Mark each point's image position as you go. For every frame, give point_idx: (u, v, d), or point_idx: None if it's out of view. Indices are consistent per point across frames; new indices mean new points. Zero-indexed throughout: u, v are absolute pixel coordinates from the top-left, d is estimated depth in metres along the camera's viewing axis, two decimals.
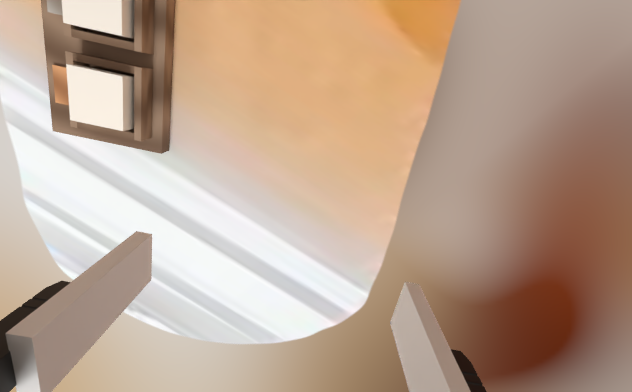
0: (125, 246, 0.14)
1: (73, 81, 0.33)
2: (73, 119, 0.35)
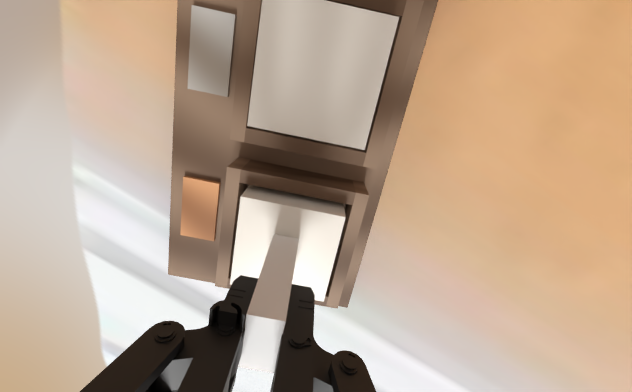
0: (275, 247, 0.16)
1: (248, 224, 0.17)
2: None
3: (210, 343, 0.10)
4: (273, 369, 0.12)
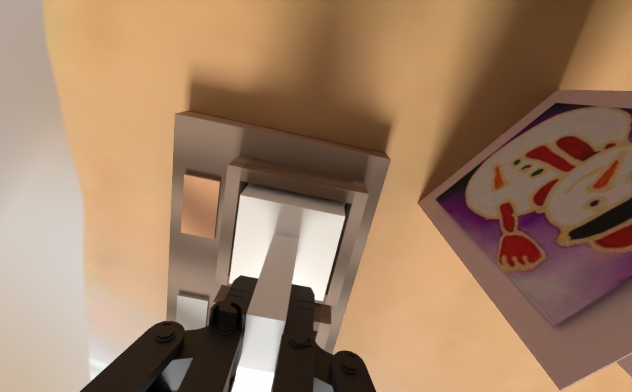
0: (275, 246, 0.16)
1: None
2: None
3: (210, 343, 0.10)
4: (273, 369, 0.12)
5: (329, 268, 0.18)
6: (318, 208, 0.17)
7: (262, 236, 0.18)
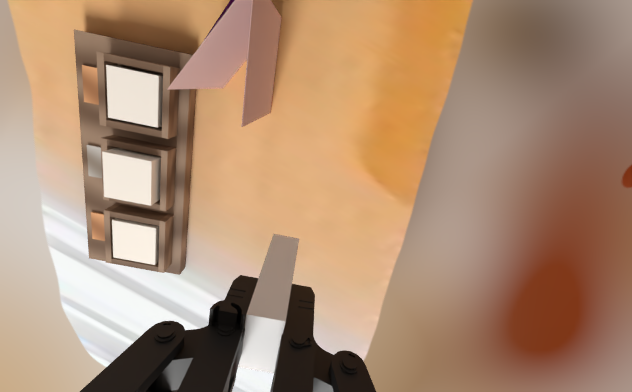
0: (275, 247, 0.16)
1: (117, 231, 0.42)
2: (115, 256, 0.44)
3: (210, 343, 0.10)
4: (273, 369, 0.12)
5: (157, 106, 0.36)
6: (146, 73, 0.35)
7: (120, 88, 0.36)
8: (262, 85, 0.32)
